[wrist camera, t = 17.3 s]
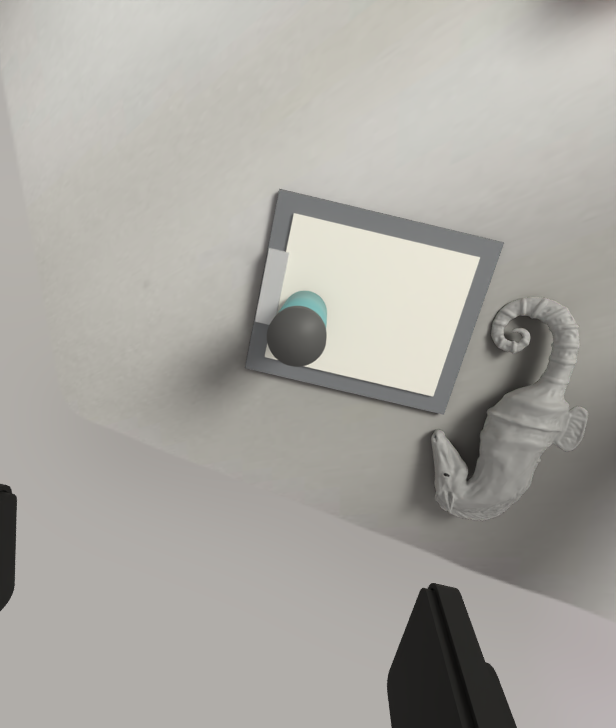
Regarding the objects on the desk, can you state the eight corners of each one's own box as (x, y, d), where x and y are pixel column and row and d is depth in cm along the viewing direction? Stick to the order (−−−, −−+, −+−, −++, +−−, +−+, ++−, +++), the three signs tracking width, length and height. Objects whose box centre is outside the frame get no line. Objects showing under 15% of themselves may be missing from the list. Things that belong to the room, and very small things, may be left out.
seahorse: (450, 288, 34) (416, 519, 37) (621, 301, 30) (567, 561, 33) (454, 291, 39) (424, 496, 42) (602, 303, 35) (557, 530, 38)
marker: (332, 293, 35) (332, 315, 26) (322, 336, 36) (319, 372, 27) (287, 284, 35) (272, 302, 26) (279, 327, 36) (261, 360, 27)
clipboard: (501, 242, 34) (508, 242, 32) (442, 412, 38) (446, 418, 37) (280, 189, 34) (278, 187, 32) (246, 366, 38) (242, 371, 36)
